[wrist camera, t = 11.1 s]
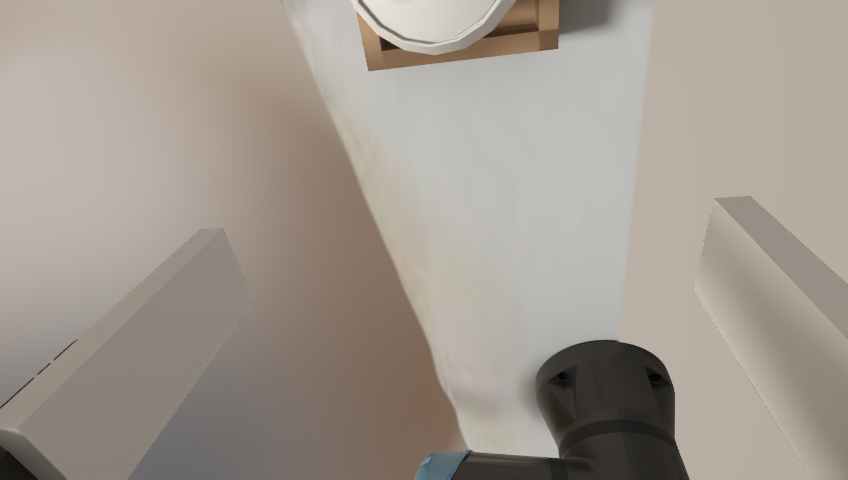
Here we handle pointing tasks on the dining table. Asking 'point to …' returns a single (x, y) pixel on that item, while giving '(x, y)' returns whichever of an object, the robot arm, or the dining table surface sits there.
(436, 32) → the supplement can
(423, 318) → the dining table surface
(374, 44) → the walnut caddy
